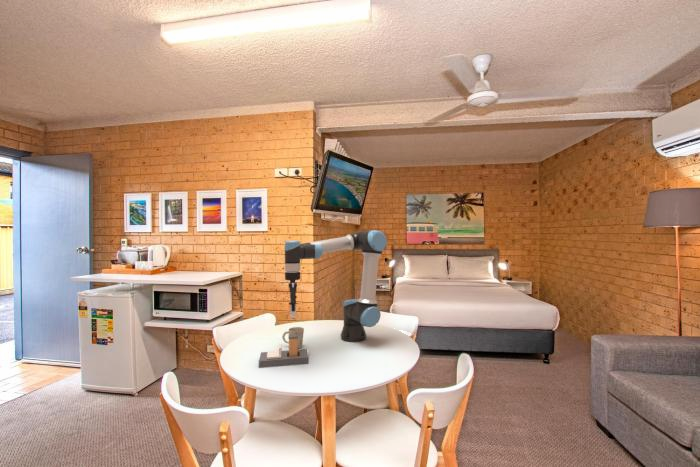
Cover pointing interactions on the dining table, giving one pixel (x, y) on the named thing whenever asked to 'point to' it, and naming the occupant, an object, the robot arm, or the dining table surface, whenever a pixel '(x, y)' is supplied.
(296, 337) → the plug
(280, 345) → the panel
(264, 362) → the socket
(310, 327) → the dining table surface
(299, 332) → the mug
